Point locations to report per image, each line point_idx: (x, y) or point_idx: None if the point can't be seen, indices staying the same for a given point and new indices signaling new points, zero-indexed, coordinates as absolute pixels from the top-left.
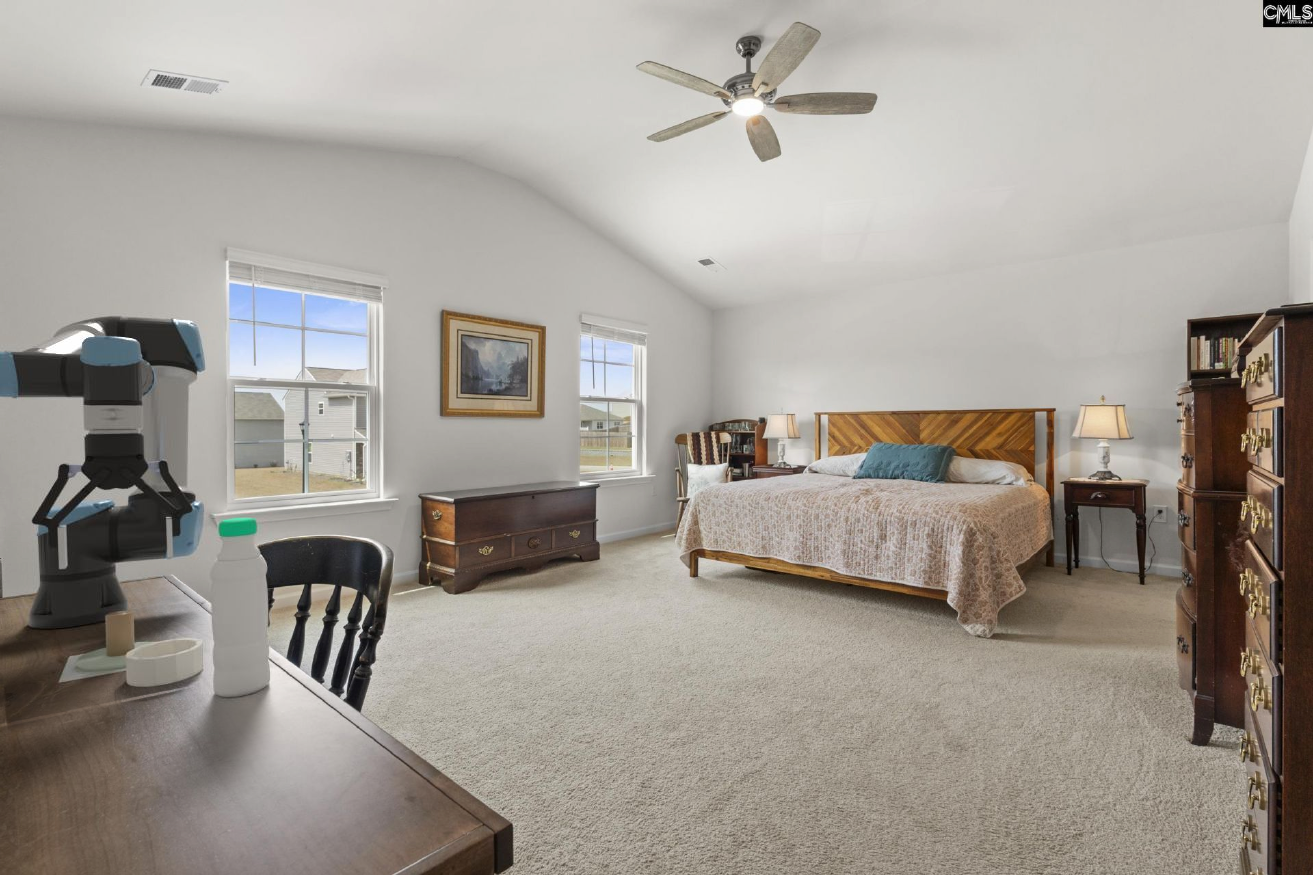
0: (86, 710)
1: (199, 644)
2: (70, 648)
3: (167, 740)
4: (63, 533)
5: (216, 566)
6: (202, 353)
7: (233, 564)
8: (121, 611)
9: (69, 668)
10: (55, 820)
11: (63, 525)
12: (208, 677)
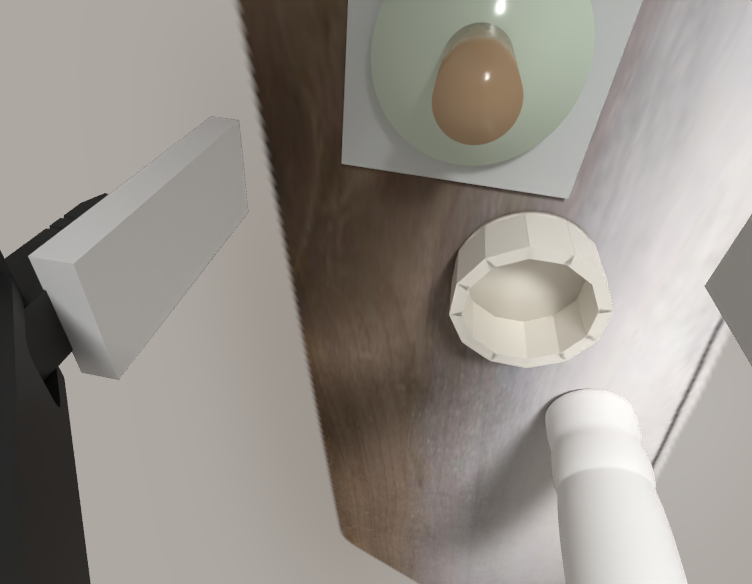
0: (386, 334)
1: (591, 339)
2: None
3: (455, 472)
4: (141, 341)
5: None
6: None
7: None
8: (489, 63)
9: (358, 50)
10: (361, 517)
11: (61, 273)
12: None
